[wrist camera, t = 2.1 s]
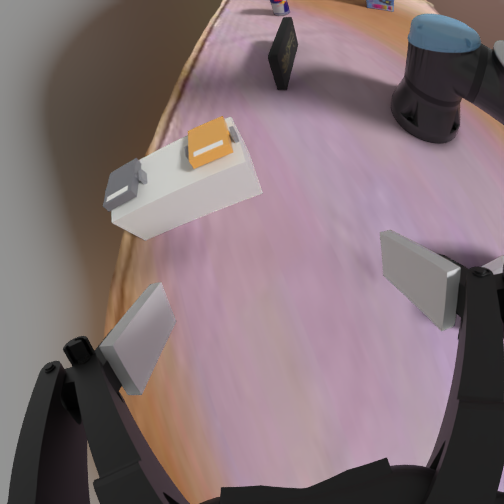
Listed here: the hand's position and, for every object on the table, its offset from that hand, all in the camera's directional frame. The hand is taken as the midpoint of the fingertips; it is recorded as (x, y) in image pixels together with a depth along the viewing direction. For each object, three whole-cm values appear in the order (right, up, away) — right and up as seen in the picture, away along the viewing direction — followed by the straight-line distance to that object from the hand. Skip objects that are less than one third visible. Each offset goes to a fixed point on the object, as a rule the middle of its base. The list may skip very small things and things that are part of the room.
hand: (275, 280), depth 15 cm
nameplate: (+8, +46, +39) cm, 61 cm away
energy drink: (+9, +80, +48) cm, 94 cm away
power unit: (-12, +12, +35) cm, 38 cm away
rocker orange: (-8, +18, +22) cm, 29 cm away
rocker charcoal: (-22, +13, +25) cm, 36 cm away
